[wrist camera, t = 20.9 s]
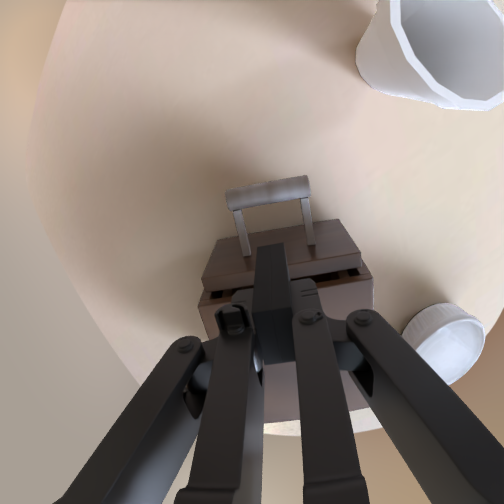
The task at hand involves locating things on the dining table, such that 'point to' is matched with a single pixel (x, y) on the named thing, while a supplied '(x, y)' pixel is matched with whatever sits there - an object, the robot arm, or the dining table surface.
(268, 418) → the cabinet
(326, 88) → the dining table surface
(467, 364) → the ramekin
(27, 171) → the dining table surface
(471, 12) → the foam cup
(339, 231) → the drawer
